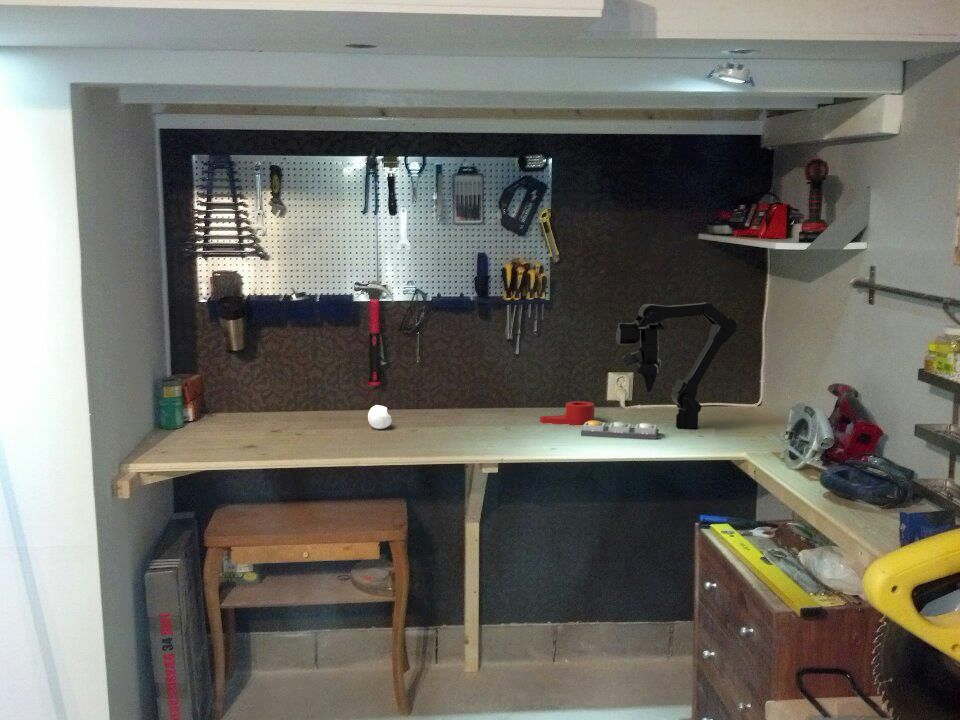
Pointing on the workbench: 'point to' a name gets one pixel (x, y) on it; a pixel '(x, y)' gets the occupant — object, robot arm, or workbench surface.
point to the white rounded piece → (379, 417)
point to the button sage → (619, 424)
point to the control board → (620, 431)
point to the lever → (573, 414)
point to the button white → (645, 425)
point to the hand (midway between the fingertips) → (648, 392)
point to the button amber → (594, 423)
